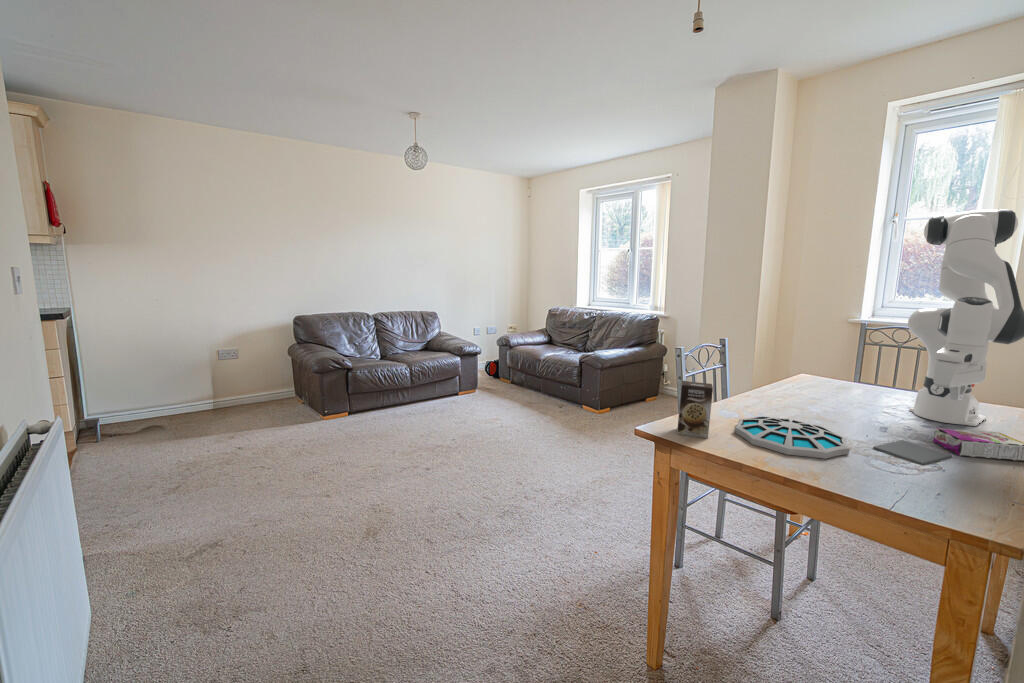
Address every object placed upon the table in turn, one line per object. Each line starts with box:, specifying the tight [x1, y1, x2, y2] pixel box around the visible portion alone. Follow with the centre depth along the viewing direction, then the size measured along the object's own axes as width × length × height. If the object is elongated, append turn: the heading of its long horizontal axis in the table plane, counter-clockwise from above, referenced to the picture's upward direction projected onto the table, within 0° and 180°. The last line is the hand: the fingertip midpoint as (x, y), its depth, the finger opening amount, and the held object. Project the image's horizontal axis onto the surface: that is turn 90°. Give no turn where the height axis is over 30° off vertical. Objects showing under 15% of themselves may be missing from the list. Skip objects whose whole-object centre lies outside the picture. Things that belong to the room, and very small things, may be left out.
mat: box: [872, 439, 953, 466], centre depth 129 cm, size 14×12×1 cm
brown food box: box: [676, 380, 714, 439], centre depth 141 cm, size 9×6×16 cm
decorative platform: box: [734, 415, 850, 460], centre depth 139 cm, size 31×29×5 cm
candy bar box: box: [932, 427, 1024, 462], centre depth 130 cm, size 11×5×16 cm
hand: (956, 399), depth 133 cm, fingers closed
